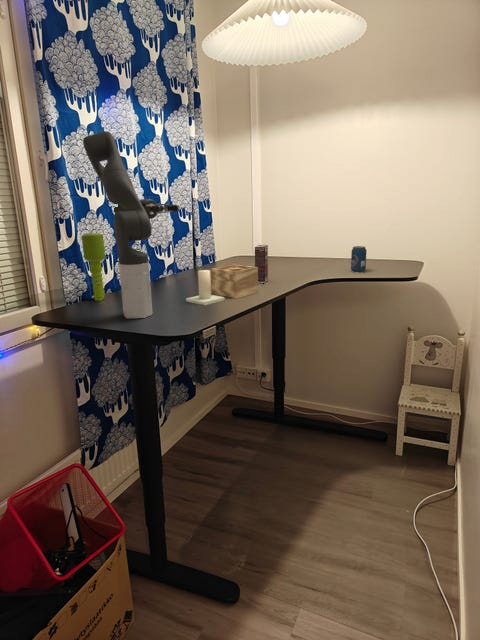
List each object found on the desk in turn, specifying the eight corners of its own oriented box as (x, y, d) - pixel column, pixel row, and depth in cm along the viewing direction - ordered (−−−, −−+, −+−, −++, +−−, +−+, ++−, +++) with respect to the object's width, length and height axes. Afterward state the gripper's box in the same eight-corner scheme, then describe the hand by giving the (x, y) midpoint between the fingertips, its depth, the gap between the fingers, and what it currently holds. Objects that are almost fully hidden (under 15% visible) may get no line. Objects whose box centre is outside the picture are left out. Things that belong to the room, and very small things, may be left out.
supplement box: (265, 283, 193) (265, 246, 189) (254, 283, 194) (253, 246, 190) (268, 280, 201) (268, 244, 197) (257, 280, 202) (257, 244, 198)
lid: (224, 300, 166) (223, 270, 163) (204, 305, 158) (203, 274, 155) (205, 296, 172) (204, 267, 169) (186, 301, 165) (184, 271, 162)
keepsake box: (258, 292, 177) (257, 267, 174) (235, 298, 168) (235, 271, 165) (233, 288, 185) (233, 264, 183) (211, 293, 176) (210, 268, 173)
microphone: (103, 301, 167) (95, 234, 161) (85, 301, 169) (77, 234, 162) (113, 297, 175) (107, 232, 168) (96, 296, 177) (89, 232, 170)
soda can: (347, 271, 219) (348, 246, 215) (359, 270, 221) (360, 245, 218) (356, 273, 212) (357, 248, 209) (368, 272, 215) (369, 247, 212)
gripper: (127, 199, 171) (152, 198, 160) (157, 198, 181) (183, 197, 170) (129, 219, 173) (153, 220, 162) (159, 217, 183) (184, 218, 172)
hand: (168, 208), depth 166 cm, fingers open, 8 cm apart
